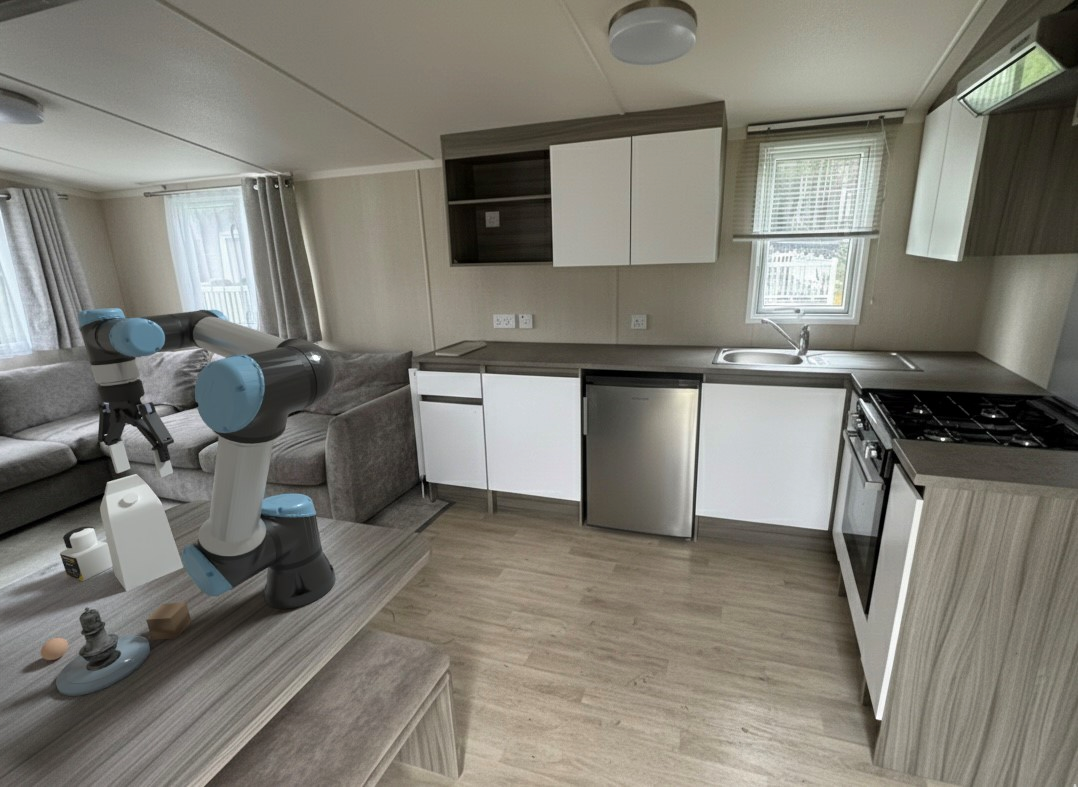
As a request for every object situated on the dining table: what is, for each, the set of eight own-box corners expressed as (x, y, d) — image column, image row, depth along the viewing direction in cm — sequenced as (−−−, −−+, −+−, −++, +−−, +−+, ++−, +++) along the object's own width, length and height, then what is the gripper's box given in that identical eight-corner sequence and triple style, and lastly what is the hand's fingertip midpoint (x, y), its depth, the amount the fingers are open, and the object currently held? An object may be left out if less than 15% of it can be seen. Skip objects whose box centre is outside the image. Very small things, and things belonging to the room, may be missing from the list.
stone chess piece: (100, 673, 95) (82, 619, 92) (76, 670, 96) (57, 616, 93) (130, 650, 100) (114, 598, 98) (107, 647, 102) (90, 596, 99)
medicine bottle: (66, 577, 130) (52, 535, 127) (98, 561, 137) (86, 521, 134) (83, 582, 128) (69, 539, 125) (114, 566, 134) (102, 525, 131)
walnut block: (191, 622, 110) (186, 602, 109) (176, 638, 105) (170, 618, 104) (168, 623, 110) (162, 603, 109) (152, 640, 105) (146, 619, 104)
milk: (169, 553, 139) (145, 465, 132) (183, 567, 132) (158, 475, 125) (114, 575, 130) (86, 482, 123) (126, 591, 123) (96, 493, 116)
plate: (166, 647, 103) (165, 641, 102) (89, 703, 90) (87, 697, 90) (120, 635, 107) (118, 629, 107) (39, 686, 95) (37, 680, 94)
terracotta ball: (75, 651, 103) (69, 635, 102) (51, 666, 100) (45, 649, 98) (62, 648, 104) (57, 631, 103) (39, 662, 101) (33, 645, 100)
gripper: (178, 378, 108) (200, 470, 113) (98, 376, 116) (123, 463, 121) (142, 386, 101) (168, 484, 106) (60, 384, 109) (88, 475, 114)
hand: (144, 473), depth 114 cm, fingers open, 13 cm apart
